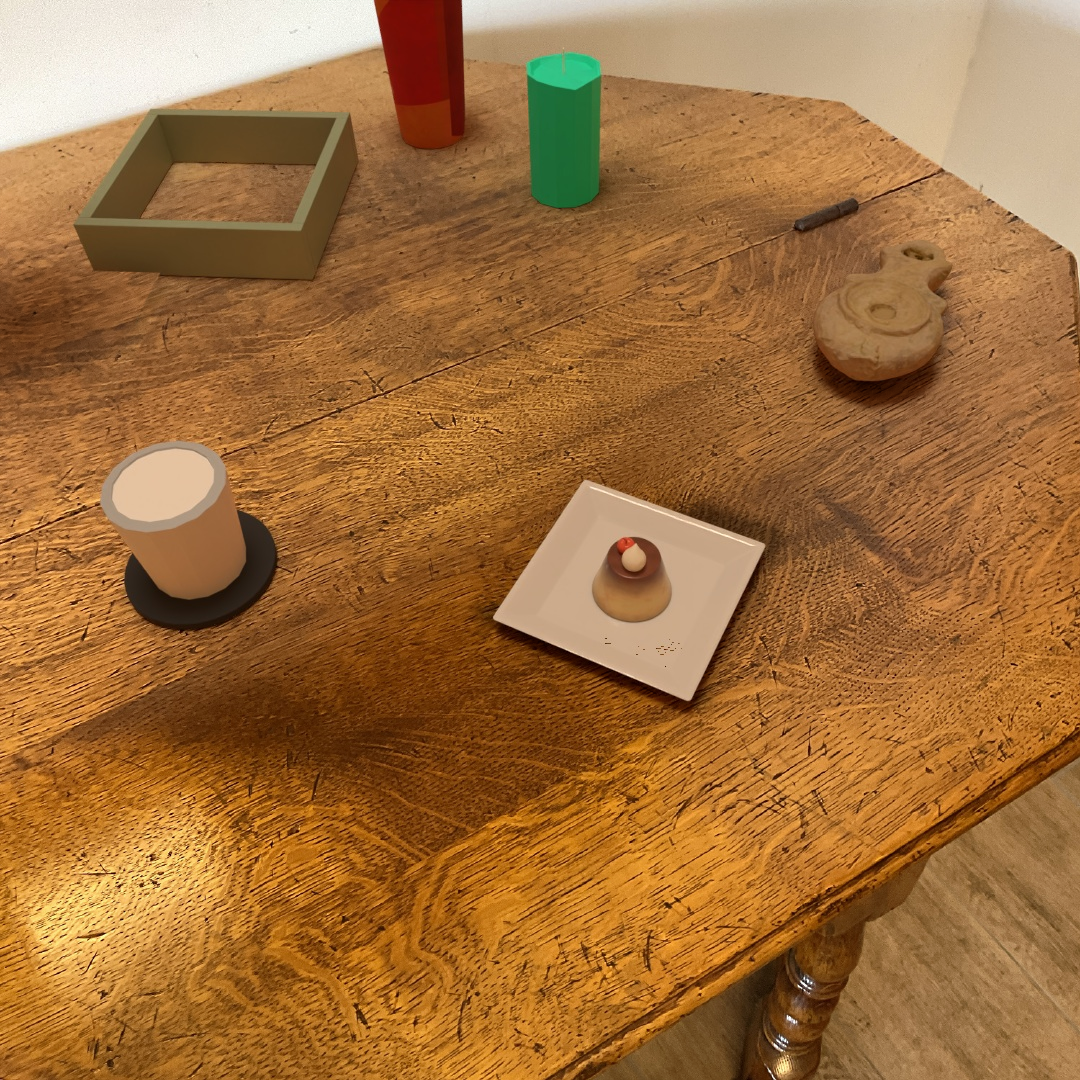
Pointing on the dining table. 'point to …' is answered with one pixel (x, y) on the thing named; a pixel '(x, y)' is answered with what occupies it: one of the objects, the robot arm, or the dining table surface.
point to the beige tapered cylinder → (177, 517)
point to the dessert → (633, 587)
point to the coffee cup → (425, 68)
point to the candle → (564, 128)
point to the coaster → (217, 605)
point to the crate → (220, 245)
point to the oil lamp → (886, 314)
